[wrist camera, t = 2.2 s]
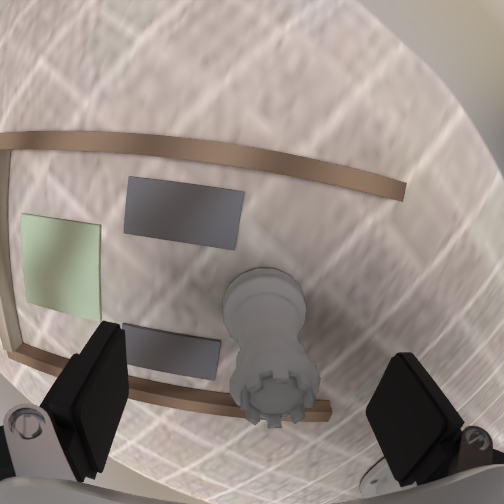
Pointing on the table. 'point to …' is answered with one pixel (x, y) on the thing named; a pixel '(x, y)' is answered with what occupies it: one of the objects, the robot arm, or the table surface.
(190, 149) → the wooden u-shaped frame
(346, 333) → the table surface
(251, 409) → the rook chess piece
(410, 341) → the table surface
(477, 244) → the table surface
